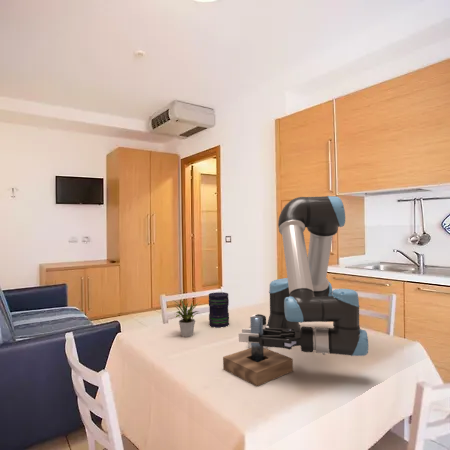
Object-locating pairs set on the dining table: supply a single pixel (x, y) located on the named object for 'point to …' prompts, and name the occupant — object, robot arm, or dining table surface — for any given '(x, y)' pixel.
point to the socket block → (258, 366)
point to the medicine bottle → (263, 327)
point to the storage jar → (218, 309)
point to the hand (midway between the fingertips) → (240, 334)
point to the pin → (256, 349)
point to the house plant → (186, 319)
